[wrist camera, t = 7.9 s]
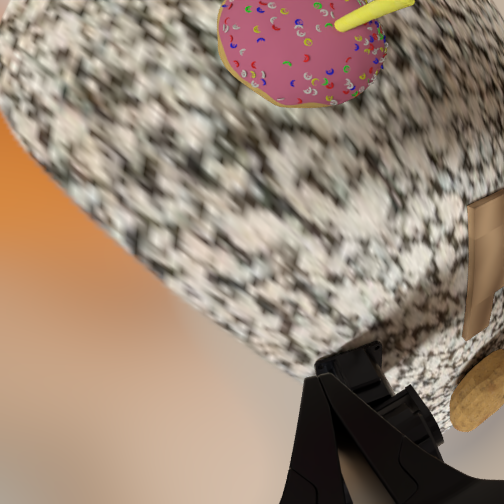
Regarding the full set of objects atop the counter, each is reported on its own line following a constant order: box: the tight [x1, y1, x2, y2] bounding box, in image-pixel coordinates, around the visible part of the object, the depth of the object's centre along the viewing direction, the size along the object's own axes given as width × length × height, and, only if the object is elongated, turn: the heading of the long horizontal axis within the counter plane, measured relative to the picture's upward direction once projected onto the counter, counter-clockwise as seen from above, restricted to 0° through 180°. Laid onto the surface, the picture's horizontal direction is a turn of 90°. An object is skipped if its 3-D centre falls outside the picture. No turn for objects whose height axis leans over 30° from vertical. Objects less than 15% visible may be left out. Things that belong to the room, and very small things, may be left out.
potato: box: [449, 349, 504, 432], centre depth 25 cm, size 10×14×8 cm
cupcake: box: [217, 0, 415, 108], centre depth 9 cm, size 9×8×12 cm
